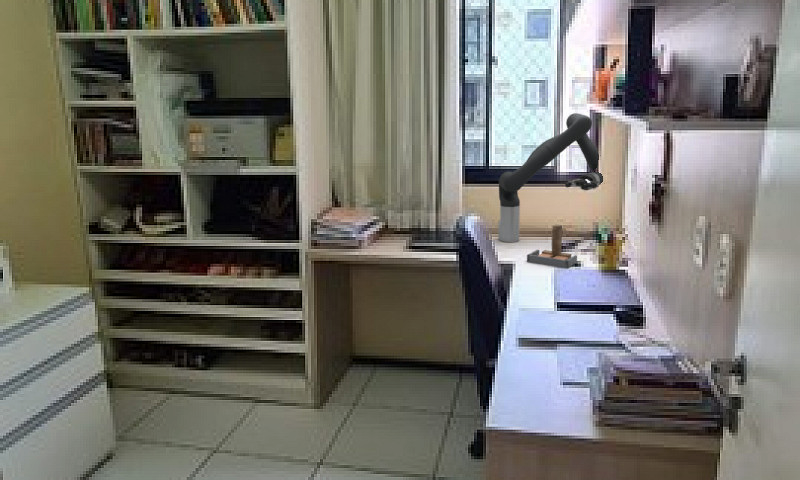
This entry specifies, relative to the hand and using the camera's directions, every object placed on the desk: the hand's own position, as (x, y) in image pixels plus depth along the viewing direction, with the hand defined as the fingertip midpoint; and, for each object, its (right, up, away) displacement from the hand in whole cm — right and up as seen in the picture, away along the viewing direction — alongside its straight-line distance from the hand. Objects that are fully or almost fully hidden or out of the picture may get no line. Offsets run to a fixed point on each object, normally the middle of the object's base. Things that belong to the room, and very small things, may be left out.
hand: (575, 186), depth 265 cm
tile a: (-18, -34, -16) cm, 41 cm away
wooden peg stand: (-13, -33, -15) cm, 38 cm away
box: (-16, -34, -18) cm, 42 cm away
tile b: (-13, -35, -20) cm, 42 cm away
